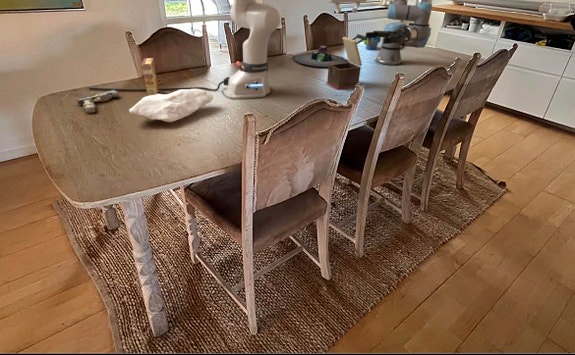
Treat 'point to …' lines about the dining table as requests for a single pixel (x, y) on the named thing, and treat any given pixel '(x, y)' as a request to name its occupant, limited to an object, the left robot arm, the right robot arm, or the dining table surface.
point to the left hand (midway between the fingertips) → (346, 13)
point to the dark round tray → (319, 58)
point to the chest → (343, 75)
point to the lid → (353, 49)
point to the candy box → (150, 76)
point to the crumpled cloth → (171, 104)
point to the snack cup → (372, 42)
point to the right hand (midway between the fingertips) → (374, 38)
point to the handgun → (95, 100)
